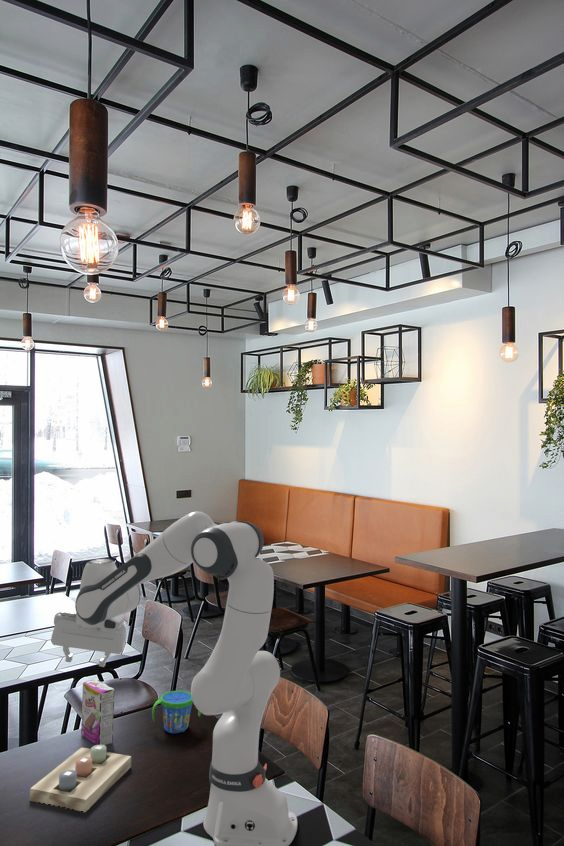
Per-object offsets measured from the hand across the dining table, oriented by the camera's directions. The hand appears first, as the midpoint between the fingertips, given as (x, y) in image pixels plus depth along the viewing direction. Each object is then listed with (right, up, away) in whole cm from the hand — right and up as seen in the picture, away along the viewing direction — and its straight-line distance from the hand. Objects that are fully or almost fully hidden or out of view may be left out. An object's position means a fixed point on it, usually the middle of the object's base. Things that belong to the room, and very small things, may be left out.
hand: (85, 663), depth 168 cm
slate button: (+1, -26, -16) cm, 30 cm away
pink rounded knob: (+2, -26, -9) cm, 28 cm away
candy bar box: (-1, -30, +15) cm, 33 cm away
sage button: (+4, -26, -2) cm, 27 cm away
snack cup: (+22, -31, +23) cm, 44 cm away
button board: (+2, -28, -9) cm, 30 cm away
